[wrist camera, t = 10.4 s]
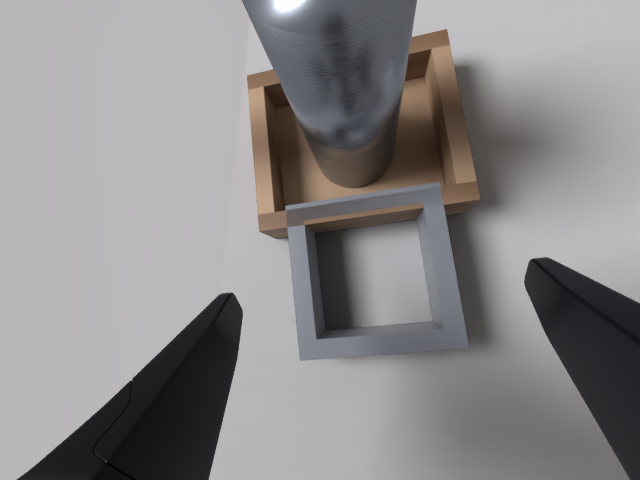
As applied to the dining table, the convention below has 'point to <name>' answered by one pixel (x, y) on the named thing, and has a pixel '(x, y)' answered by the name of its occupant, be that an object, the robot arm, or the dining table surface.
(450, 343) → the tray
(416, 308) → the dining table surface
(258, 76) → the wooden tray
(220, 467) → the dining table surface
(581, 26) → the dining table surface
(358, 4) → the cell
